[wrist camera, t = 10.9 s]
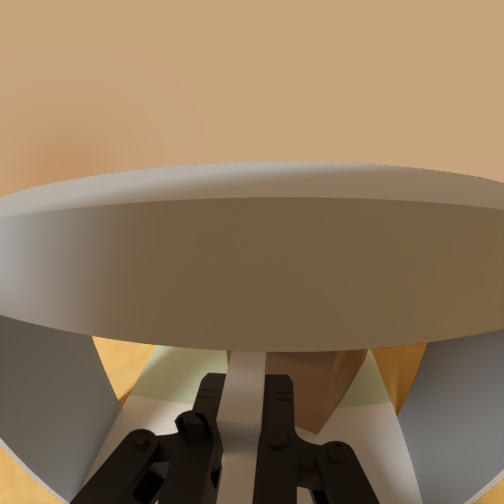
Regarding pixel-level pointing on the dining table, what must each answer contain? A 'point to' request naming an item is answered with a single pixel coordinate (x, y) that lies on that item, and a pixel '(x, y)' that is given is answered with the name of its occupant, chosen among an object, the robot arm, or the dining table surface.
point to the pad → (215, 361)
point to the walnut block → (316, 381)
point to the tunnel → (258, 309)
